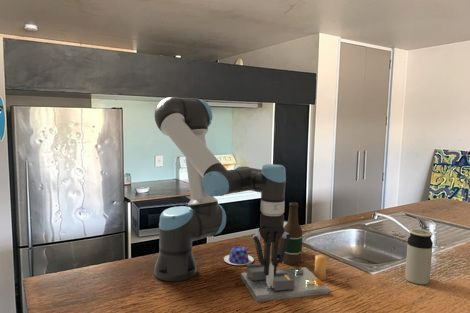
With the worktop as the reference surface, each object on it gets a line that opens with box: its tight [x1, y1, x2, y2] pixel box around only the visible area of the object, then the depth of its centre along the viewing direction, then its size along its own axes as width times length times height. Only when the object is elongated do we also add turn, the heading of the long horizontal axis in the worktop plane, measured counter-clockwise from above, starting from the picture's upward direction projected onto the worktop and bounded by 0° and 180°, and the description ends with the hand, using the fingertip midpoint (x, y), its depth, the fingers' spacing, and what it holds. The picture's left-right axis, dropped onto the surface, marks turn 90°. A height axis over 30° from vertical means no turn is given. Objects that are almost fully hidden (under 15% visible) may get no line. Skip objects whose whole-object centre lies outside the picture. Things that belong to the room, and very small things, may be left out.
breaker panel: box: [240, 266, 330, 303], centre depth 126 cm, size 25×17×3 cm
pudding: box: [223, 245, 255, 266], centre depth 147 cm, size 12×12×5 cm
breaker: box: [246, 263, 266, 281], centre depth 128 cm, size 6×6×3 cm
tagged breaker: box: [272, 272, 294, 291], centre depth 121 cm, size 6×6×3 cm
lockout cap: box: [313, 254, 328, 281], centre depth 133 cm, size 4×4×8 cm
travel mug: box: [404, 228, 434, 285], centre depth 132 cm, size 8×8×18 cm
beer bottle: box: [282, 201, 303, 266], centre depth 146 cm, size 8×8×24 cm
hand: (269, 284), depth 120 cm, fingers closed
